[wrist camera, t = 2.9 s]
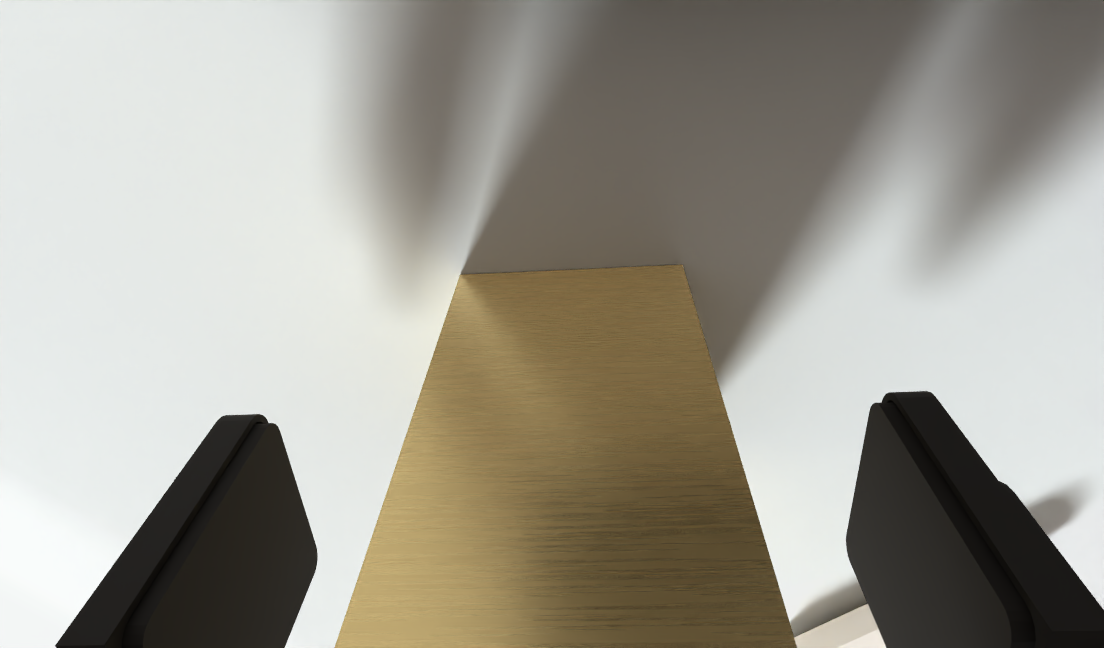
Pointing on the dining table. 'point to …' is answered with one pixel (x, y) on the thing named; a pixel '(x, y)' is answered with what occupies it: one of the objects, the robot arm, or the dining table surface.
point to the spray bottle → (844, 632)
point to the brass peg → (569, 480)
